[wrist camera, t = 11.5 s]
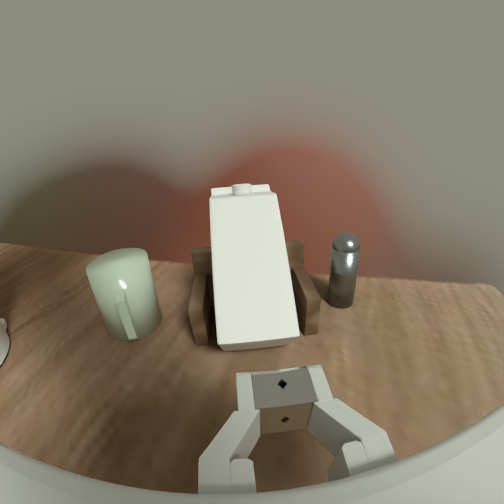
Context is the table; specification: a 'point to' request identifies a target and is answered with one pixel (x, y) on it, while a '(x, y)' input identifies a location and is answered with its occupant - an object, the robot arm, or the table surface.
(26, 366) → the table surface
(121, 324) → the sage mug
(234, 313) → the milk carton
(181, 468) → the table surface
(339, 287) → the grey shaker
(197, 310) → the walnut holder
